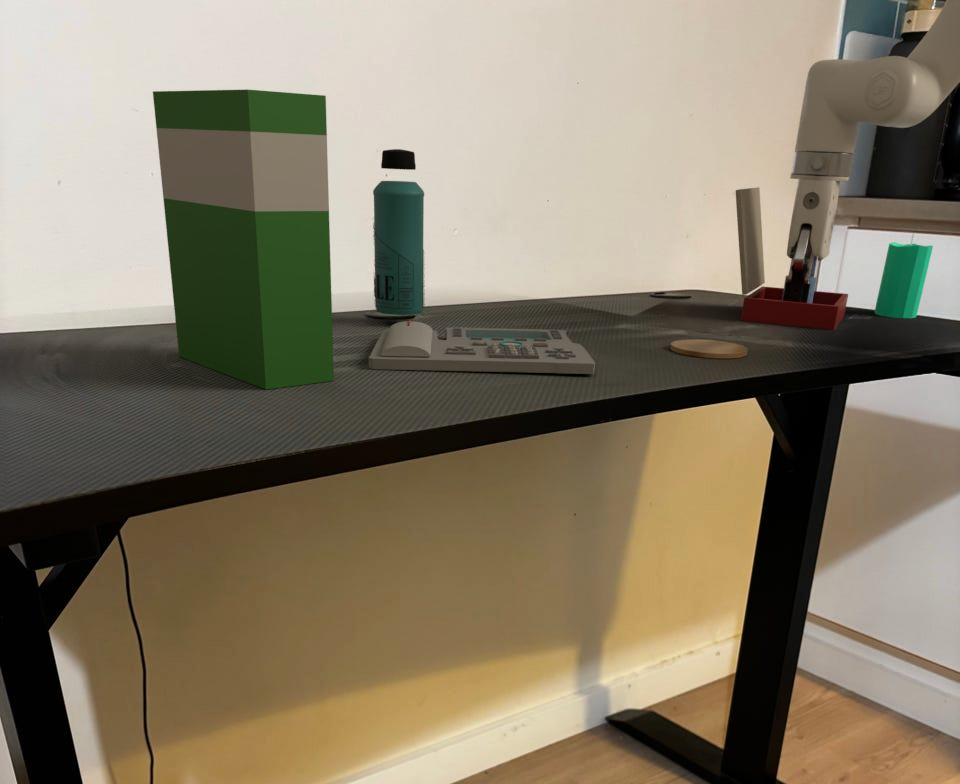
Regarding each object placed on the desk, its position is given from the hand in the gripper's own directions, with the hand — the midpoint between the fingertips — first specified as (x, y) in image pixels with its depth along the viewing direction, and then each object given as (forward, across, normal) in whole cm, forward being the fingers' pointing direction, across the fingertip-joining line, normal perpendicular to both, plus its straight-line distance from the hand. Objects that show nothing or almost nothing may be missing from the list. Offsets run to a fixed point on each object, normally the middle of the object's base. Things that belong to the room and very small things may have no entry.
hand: (795, 309), depth 137 cm
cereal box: (+2, -68, +44) cm, 81 cm away
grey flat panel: (-9, 0, +7) cm, 11 cm away
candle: (+2, +14, -13) cm, 19 cm away
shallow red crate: (+2, 0, 0) cm, 2 cm away
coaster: (+2, -30, +6) cm, 31 cm away
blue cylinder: (+1, 0, 0) cm, 1 cm away
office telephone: (+2, -48, +28) cm, 56 cm away
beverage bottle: (+2, -35, +45) cm, 57 cm away
